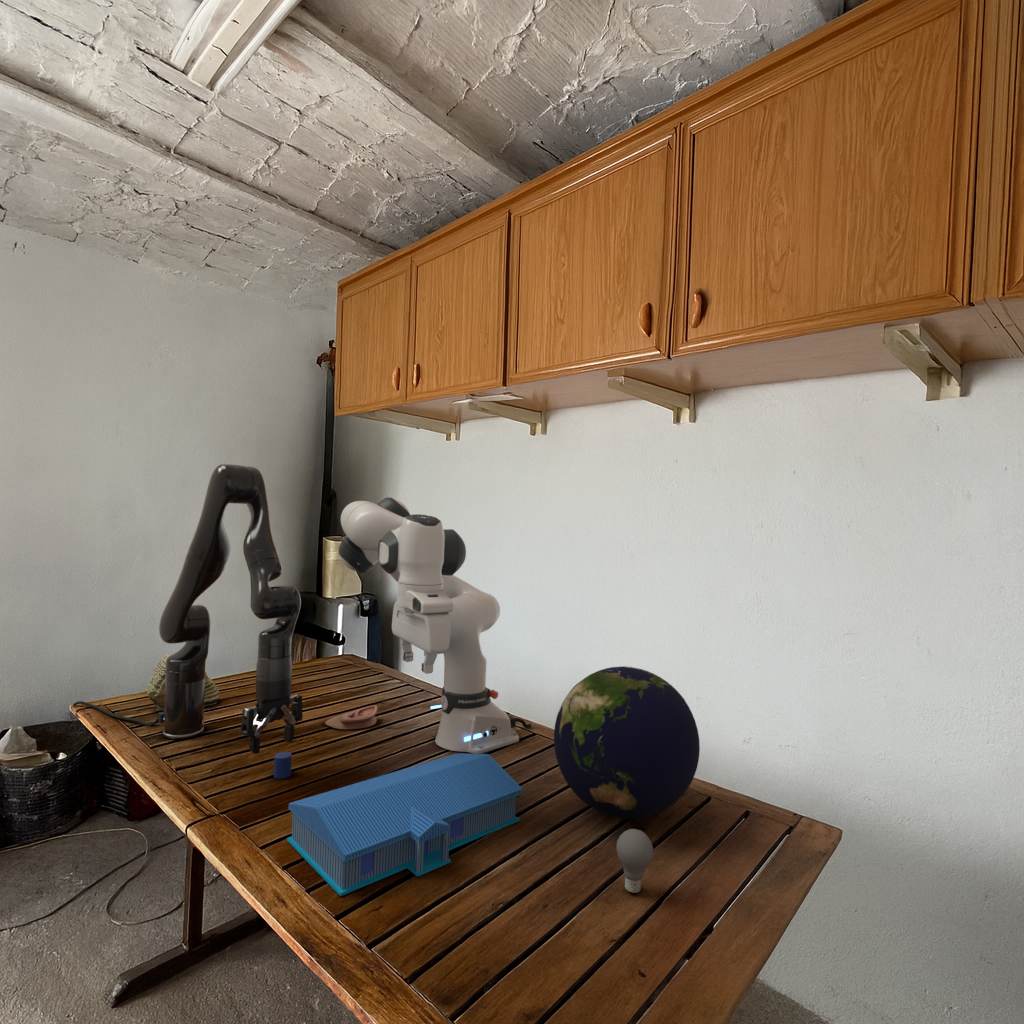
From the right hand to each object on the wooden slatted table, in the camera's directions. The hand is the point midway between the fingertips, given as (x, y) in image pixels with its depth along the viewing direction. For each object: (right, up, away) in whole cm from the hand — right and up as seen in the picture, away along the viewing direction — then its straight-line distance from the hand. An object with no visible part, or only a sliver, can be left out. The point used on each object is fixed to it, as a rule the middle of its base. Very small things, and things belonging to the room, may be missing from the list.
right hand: (417, 666), depth 126 cm
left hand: (-35, -22, +17) cm, 45 cm away
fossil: (-77, -26, +59) cm, 101 cm away
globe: (+42, -32, +7) cm, 53 cm away
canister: (-33, -29, +17) cm, 47 cm away
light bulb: (+39, -33, -20) cm, 55 cm away
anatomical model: (-26, -29, +52) cm, 65 cm away
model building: (0, -31, -5) cm, 31 cm away
